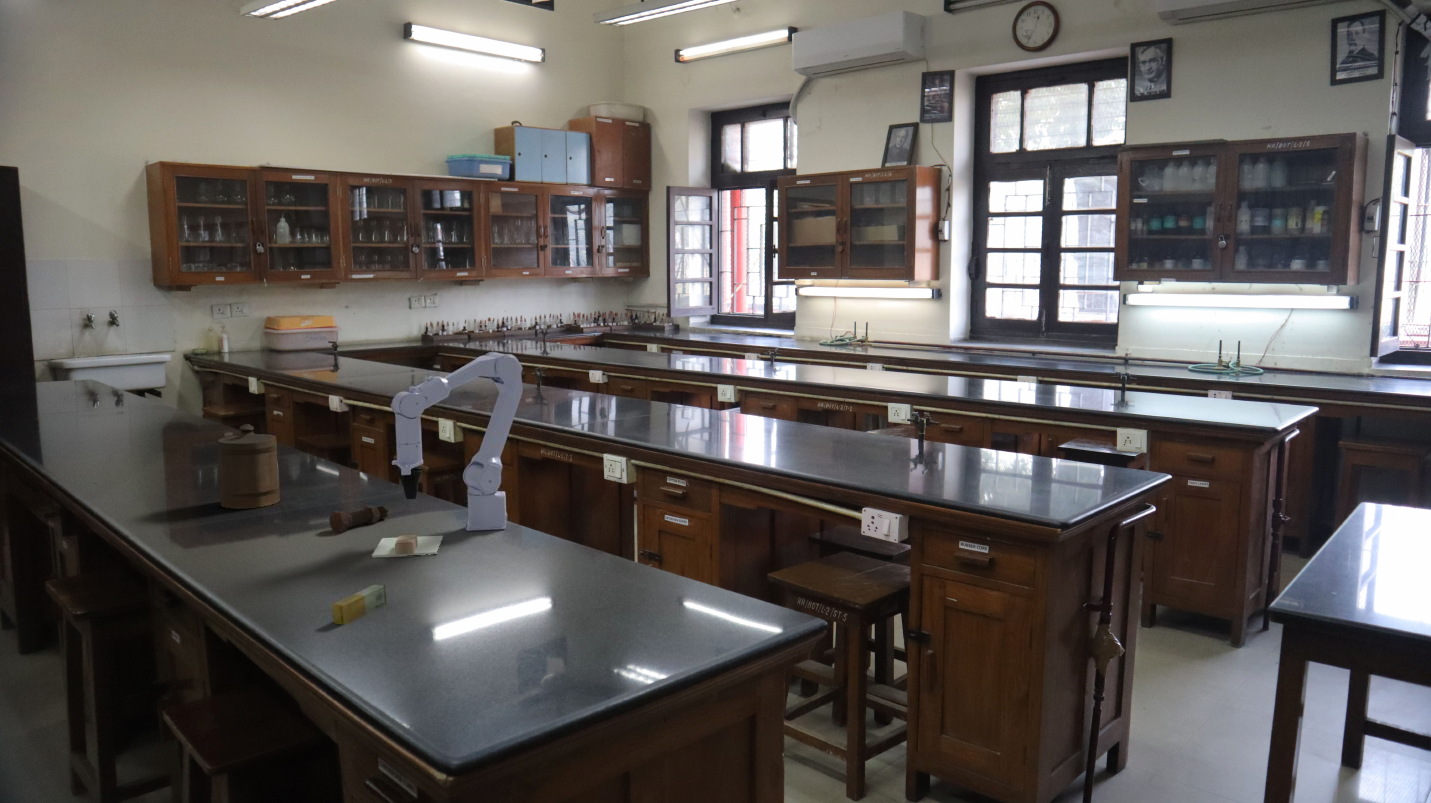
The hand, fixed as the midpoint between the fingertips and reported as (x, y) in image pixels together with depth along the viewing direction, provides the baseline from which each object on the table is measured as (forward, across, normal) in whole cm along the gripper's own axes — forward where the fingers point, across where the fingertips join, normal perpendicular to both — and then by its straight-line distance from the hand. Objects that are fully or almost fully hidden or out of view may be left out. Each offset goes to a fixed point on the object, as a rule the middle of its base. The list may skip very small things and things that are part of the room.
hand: (411, 498), depth 231 cm
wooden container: (+10, -44, -49) cm, 67 cm away
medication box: (+10, +51, -3) cm, 52 cm away
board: (+10, +8, 0) cm, 12 cm away
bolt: (+10, -15, -14) cm, 24 cm away
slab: (+8, +8, 0) cm, 11 cm away
